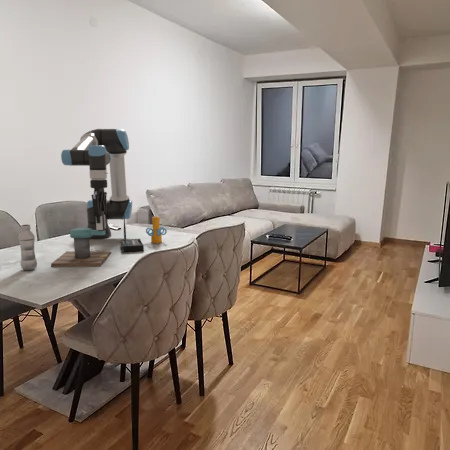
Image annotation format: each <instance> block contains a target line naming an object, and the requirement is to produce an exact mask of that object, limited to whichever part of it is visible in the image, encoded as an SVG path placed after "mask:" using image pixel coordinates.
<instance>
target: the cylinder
mask: <svg viewBox="0 0 450 450" xmlns="http://www.w3.org/2000/svg"><path fill="white" fill-rule="evenodd" d="M151 219H152V227H147V228H146V229H145V233H146V234H147V235H148V236H149V237H150V240H151V241H150V242H151V243H152V244H160V243H162V242H163V238H162V236H165V235H166V234H167V231H168V230H167V229H166V227H165V228H164V226H161V225H160V224H161V223H160V216H158V215H155V216H152V217H151ZM150 231H151V232H150Z"/></svg>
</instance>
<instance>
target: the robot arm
mask: <svg viewBox="0 0 450 450" xmlns="http://www.w3.org/2000/svg"><path fill="white" fill-rule="evenodd" d="M129 149H130V142H129V138H128V134H127V131H126V130H125V129H123V128H122V129H120V128H96V129H92V130H89V131H87V132H85V133H83V135H81V137H80V139H79V141H78V142H77V143H76V144H75V145H74V146H73V147H72V148H71V149H63V150H62V151H61V154H60V158H61V159H60V160H61V163H62V164H63V165H64V166H69V167H71V166H74V167H75V166H78V167H79V166H81V167H82V166H88V167H89V179H90V182H89V183H90V185H89V186H90V188H91V189H93V194H91V199H90V200H87V202H86V214H87V215H86V217H87V227H86V228H91V229H92V230H103V224H102V216H101V211H104V225H105V235H92V236H91V237H89V240H90V239H92V240H93V239H94V240H96V239H97V240H98V239H100V240H101V239H108V238H110V237H112V231H111V228H110V226H109V222H108V220H123V221H124V215H125V220H129V219H131V216H132V212H133V211H132V210H133V200H131V199H130V196H129V195H128V194H127V180H126V166H125V155H126V154H127V153H128V152H127V151H129ZM107 165H109V174H110V189H111V196H110V197H109V200H108V199H107V197H108V196H107V195H108V193H107V191H105V189H106V188H108V180H107V179H108V172H107V170H108V169H107Z"/></svg>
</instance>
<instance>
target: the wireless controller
mask: <svg viewBox="0 0 450 450" xmlns="http://www.w3.org/2000/svg"><path fill="white" fill-rule="evenodd" d="M126 230H127V227H126V219H125V215H124V219H123V239H120V247H121V250H122V253H123V254H127V253H128V254H129V253H130V254H131V253H140V252H141V253H144V252H145V246H144V244H143V242H142V241H141V238H129V239H127V231H126Z"/></svg>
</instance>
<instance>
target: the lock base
mask: <svg viewBox="0 0 450 450" xmlns="http://www.w3.org/2000/svg"><path fill="white" fill-rule="evenodd" d="M90 243H91V242H90V238H89V237H88V238H73V247H74V250H73V251H72V250H69V251H67V250H66V251H65V252H63V253H62V254H61V255H60V256H59V257H57V258H56V259H55V260H53V262H51V263H50V266H51V267H52V268H53V267H54V268H56V267H57V268H58V267H59V268H60V267H61V268H62V267H70V268H71V267H101V266H102V265H103V264H104V263H105V262H106V260H107V259H108V258H109V256H110V255H111V253H112V251H111V250H91V244H90Z"/></svg>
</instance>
